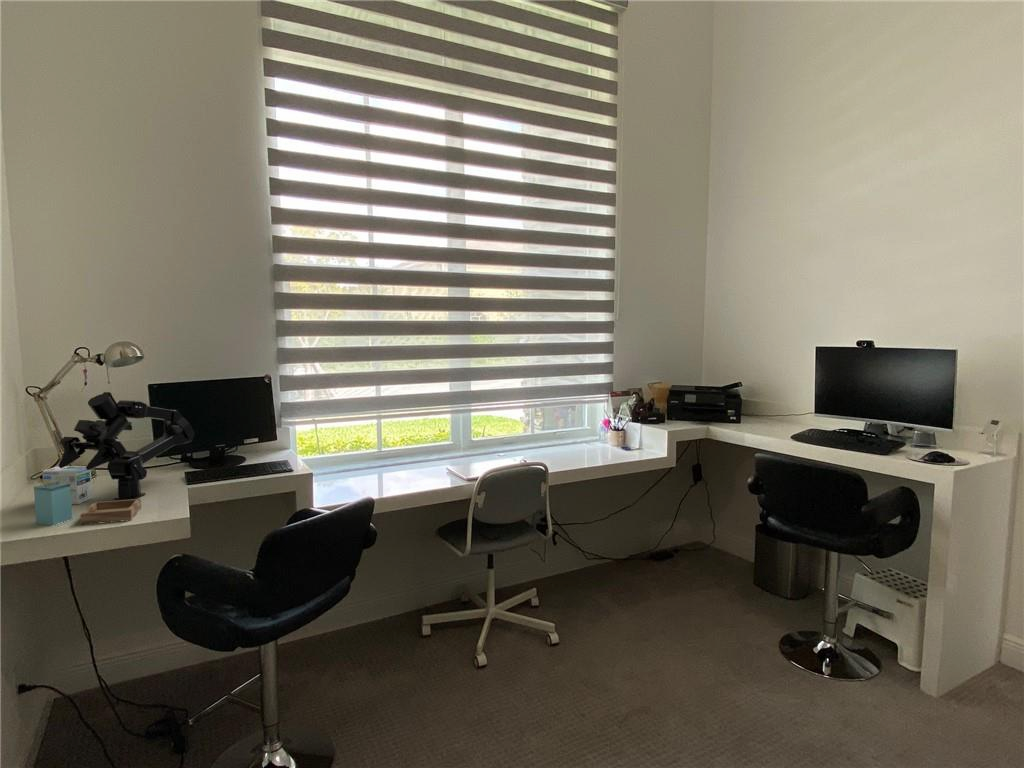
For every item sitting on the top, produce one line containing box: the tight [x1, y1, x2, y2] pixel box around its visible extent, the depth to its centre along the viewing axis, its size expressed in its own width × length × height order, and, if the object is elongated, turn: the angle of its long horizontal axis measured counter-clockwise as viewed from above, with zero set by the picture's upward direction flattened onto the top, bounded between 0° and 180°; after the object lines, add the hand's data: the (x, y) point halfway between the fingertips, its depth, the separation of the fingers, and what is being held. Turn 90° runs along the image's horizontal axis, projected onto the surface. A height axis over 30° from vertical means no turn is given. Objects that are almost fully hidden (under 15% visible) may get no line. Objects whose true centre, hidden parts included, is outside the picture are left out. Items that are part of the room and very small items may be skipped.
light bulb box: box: [41, 465, 93, 505], centre depth 184 cm, size 11×7×11 cm, turn 92°
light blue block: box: [33, 480, 73, 526], centre depth 165 cm, size 6×6×12 cm
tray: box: [79, 498, 142, 525], centre depth 171 cm, size 12×12×3 cm
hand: (73, 468), depth 170 cm, fingers open, 9 cm apart
